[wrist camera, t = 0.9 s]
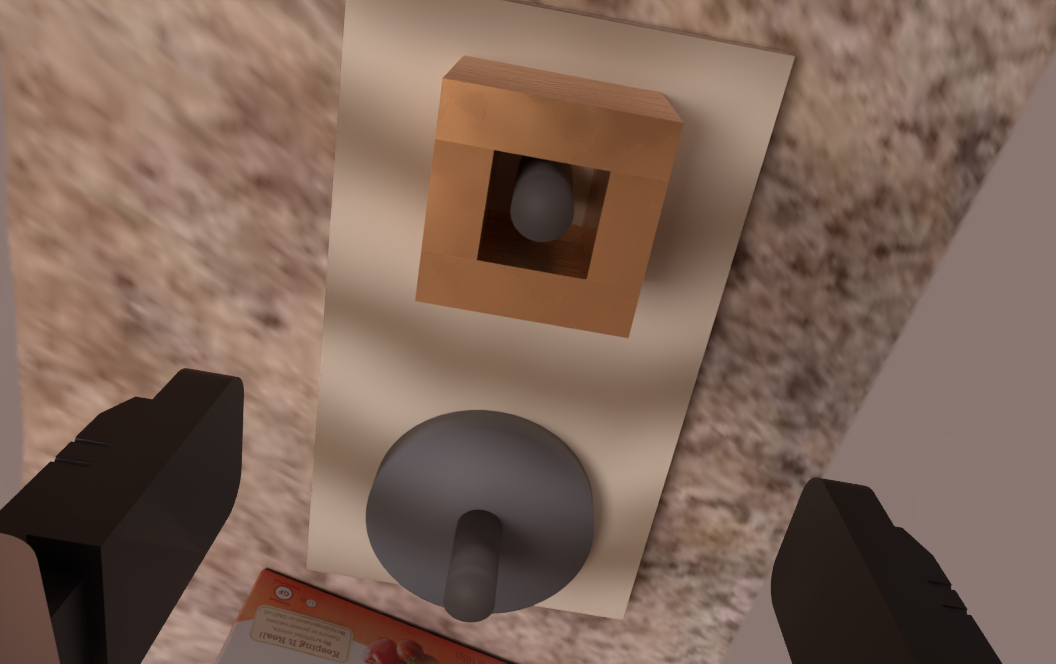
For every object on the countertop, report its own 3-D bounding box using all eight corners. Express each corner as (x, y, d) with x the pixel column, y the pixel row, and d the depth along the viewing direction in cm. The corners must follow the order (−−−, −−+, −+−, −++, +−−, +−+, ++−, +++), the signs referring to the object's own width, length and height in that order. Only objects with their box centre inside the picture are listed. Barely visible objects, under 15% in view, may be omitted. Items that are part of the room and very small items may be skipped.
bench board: (359, -31, 26) (293, -25, 19) (782, 50, 26) (854, 82, 20) (315, 546, 36) (263, 673, 30) (620, 594, 36) (632, 729, 30)
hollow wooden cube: (463, 55, 25) (442, 77, 21) (661, 92, 25) (683, 123, 21) (438, 244, 28) (414, 301, 23) (617, 276, 28) (628, 338, 24)
